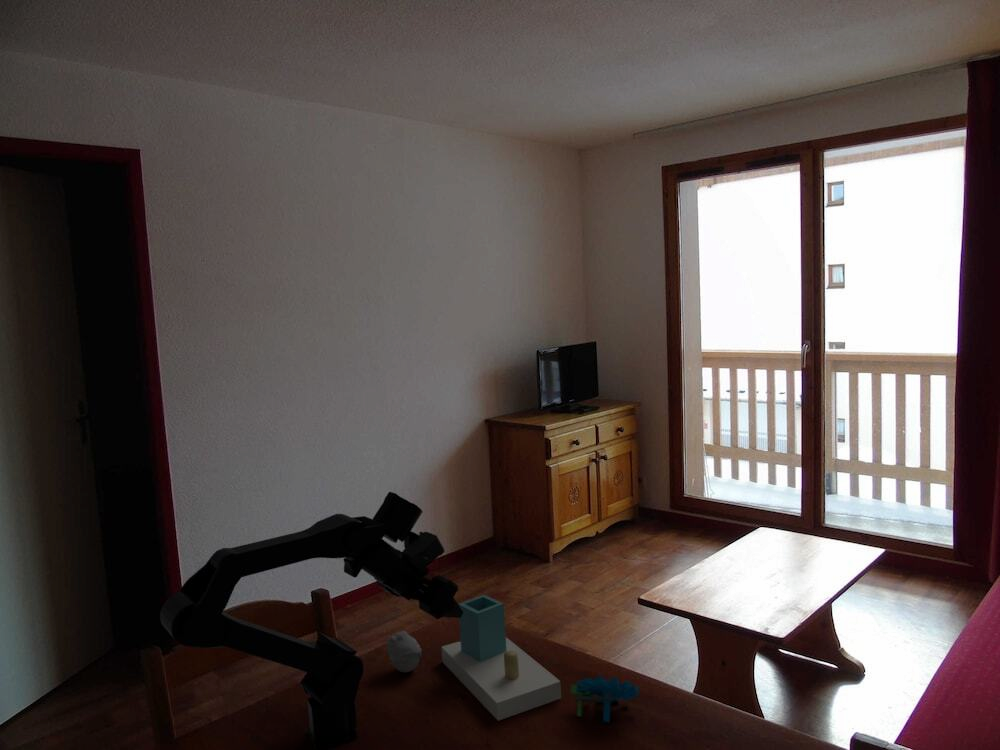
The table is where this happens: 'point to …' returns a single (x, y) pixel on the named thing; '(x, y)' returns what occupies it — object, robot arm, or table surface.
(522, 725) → the table surface
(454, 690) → the table surface
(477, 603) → the collar
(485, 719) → the table surface
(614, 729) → the table surface
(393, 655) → the grey rounded lump
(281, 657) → the robot arm
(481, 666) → the board
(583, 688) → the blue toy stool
